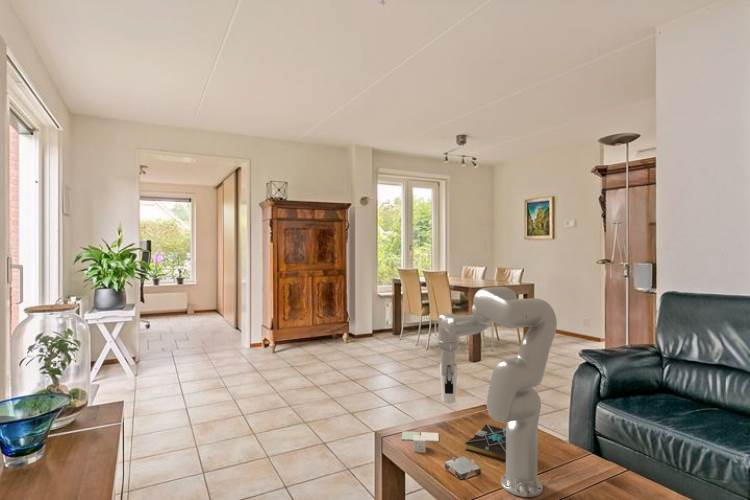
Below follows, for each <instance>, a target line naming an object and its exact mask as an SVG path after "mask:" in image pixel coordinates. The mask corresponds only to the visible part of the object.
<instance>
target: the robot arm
mask: <svg viewBox="0 0 750 500" xmlns="http://www.w3.org/2000/svg"><path fill="white" fill-rule="evenodd" d="M471 312H472V314H465V315H456V314H454V313H448V312H447V313H446V312H445V313H441V314H439V315H438V321H437V323H438V324H437V325H438V326H437V327H438V350H440V363H441V374H442V376H443V375H445V394H453V376H454V371H455V363H456V351H458V350H459V340H458V339H459V338H458V337H463V336H471V335H477V334H480V333H481V332H483V331H485V330H487V329H489V328H490V326H491V325H492V323H493V322H494V323H496V324H497V325H499V326H501V327H502V328H506V329H519V328H526V327H529V328H528V330H527V331H526V332H525V334H524V335H523V337H522V339H521V341H520V344H519V349H518V351H517V354H516V356H514V357H512V358H506V359H502V360H500V361H498V362H497V363H496V365H495V366H494V369H493V370H492V373H491V378H490V383H489V388H488V393H487V397H486V409H487V413H488V416H489V417H490V418H491V419H492V420H493V421H494V422H496V423H499V424H506V425H505V427H506V462H505V474H503V475H502V476H501V478H500V485H501V487H502V488H503V489H504V490H505V491H506V492H508V493H509V494H512V495H515V496H517V497H521V498H523V497H524V498H534V497H538V496H540V495H541V494H542V493H543V490H544V487H543V483H542V482H541V480H539V479H538V477H539V476H538V439H539V438H538V437H539V436H538V430H539V420H540V415H541V409H542V400H541V397H540V394H539V393H538V392H537V390H536V389H535V387H537V386H539V385H540V384H541V383H542V381H543V378H544V374H545V371H546V367H547V363H548V359H549V355H550V350H551V346H552V343H553V342H554V339H555V335H556V334H557V333H556V332H557V326H558V325H557V324H558V322H557V321H558V320H557V316H556V313H555V310H554V308H553V306H552V305H551V304H550V303H548V302H547V301H546V300H544V299H541V298H535V297H534V298H533V297H532V298H531V297H530V298H519V299H518V297H517V294H516V292H515V291H514V290H513V289H511V288H509V287H506V286H494V287H493V286H492V287H483V288H480V289H479V290H477V291H476V293H475V294H474V296H473V304H472V307H471ZM450 365H451V366H450ZM447 371H448V375H446V373H447ZM451 371H452V372H451ZM452 373H453V374H452ZM452 375H453V376H452ZM447 377H448V378H447Z"/></svg>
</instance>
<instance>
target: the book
mask: <svg viewBox="0 0 750 500" xmlns="http://www.w3.org/2000/svg"><path fill="white" fill-rule="evenodd" d="M464 445H466V448H465V449H464V450H465V451H468V452H471V453H475V454H479V455H483V456H485V457H489V458H492V459H495V460H498V461H501V462H504V463H506V426H505V427H504V428H500V427H498V426H497V427H496V426H493V425H491V424H489V423H488V422H487V423H485V425H484V426H483V427H482V428H481V429H479V430H478V431H476V432H475V434H474V436H473V437H472V438H471V439H469V440H468V441H464Z"/></svg>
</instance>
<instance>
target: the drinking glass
mask: <svg viewBox="0 0 750 500" xmlns="http://www.w3.org/2000/svg"><path fill="white" fill-rule="evenodd" d="M457 365H458V364H457V363H456V362H455V371H454V376H453V375H452V376H453V394H445V375H443V376H442V374H441V362H440V363H439V382H440V391H441V401H442V403H444V404H446V405H450V404H455V402H456V395H457V394H456V393H457V382H458V381H457V379H458V366H457ZM450 366H451V365H450ZM451 372H452V371H451ZM452 374H453V373H452ZM446 375H448V371H447V373H446ZM447 378H448V377H447Z"/></svg>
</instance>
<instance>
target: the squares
mask: <svg viewBox="0 0 750 500" xmlns="http://www.w3.org/2000/svg"><path fill="white" fill-rule="evenodd" d="M414 435H425V436H426V442H434V443H435V442H436V443H437V442H438V443H439V442H440V439H439V432H429V431H428V432H426V431H425V432H424V431H423V432H422V431H406V430H405V431H402V434H401V441H412V442H413V439H414Z"/></svg>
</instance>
